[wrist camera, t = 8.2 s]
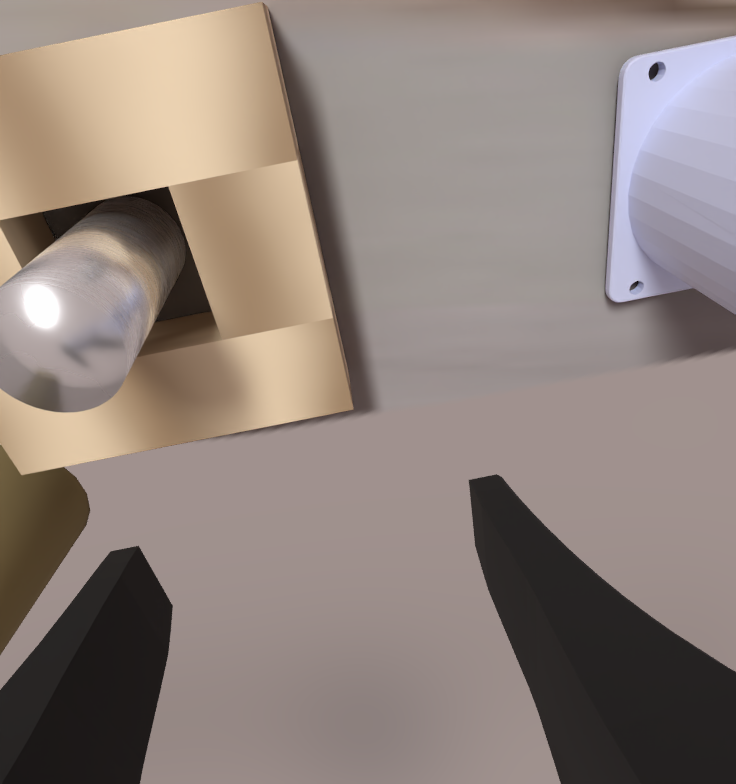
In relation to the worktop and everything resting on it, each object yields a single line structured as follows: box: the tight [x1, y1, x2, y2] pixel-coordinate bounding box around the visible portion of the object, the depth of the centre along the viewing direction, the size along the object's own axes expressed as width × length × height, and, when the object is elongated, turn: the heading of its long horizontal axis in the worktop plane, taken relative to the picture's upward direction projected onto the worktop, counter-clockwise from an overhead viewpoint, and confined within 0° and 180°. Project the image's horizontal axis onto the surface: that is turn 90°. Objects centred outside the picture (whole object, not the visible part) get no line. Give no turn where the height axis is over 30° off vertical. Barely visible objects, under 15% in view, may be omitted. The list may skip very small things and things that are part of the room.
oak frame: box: [0, 2, 354, 475], centre depth 18 cm, size 12×12×3 cm
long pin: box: [0, 196, 186, 413], centre depth 16 cm, size 3×3×8 cm
